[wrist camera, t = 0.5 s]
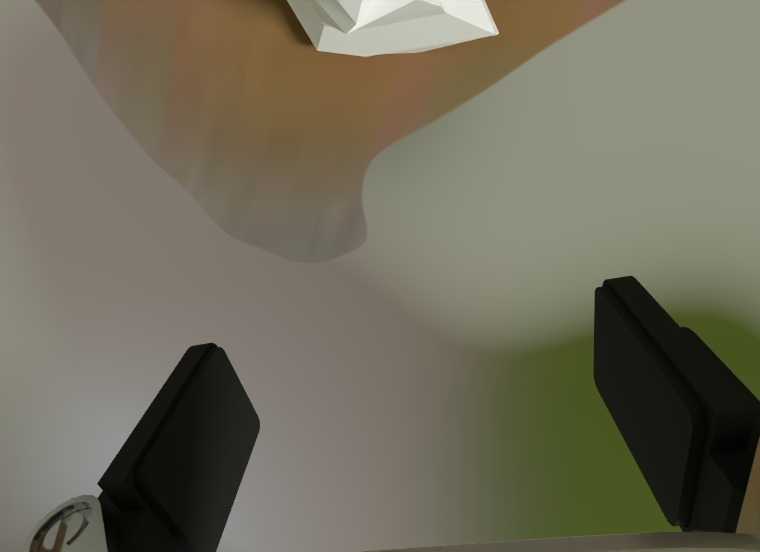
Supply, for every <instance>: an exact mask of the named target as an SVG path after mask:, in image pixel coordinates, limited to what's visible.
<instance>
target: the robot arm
mask: <svg viewBox="0 0 760 552" xmlns="http://www.w3.org/2000/svg"><path fill="white" fill-rule="evenodd" d="M594 380H595V384H596V387H597V389H598V391H599V393H600V395H601V397H602V399H603V401H604V402H605V404H606V406H607V408H608V410H609V412H610V414H611V416H612V417H613V420H614V421H615V423H616V425H617V427H618V429H619V431H620V433H621V434H622V436H623V438H624V440H625V442H626V444H627V446H628V448H629V450H630V451H631V453H632V455H633V457H634V459H635V461H636V463H637V464H638V467H639V468H640V470H641V472H642V474H643V476H644V478H645V480H646V481H647V483H648V485H649V487H650V489H651V491H652V493H653V495H654V496H655V498H656V500H657V502H658V504H659V506H660V508H661V510H662V512H663V513H664V515H665V517H666V519H667V521H668V522H669V523H670V524H671V525H672V526H680V527H681V529H682V531H683V532H654V533H634V534H616V535H598V536H597V535H596V536H577V537H561V538H548V539H547V538H546V539H532V540H518V541H504V542H489V543H475V544H461V545H446V546H434V547H433V546H432V547H419V548H405V549H392V550H379V551H365V552H760V401H759V400H758V399H757V398H756V397H755V396H754V395H753V394H752V393H751V392H750V390H749V389H748V388H747V387H746V386H745V385H744V384H743V383H742V382H741V381H740V380H739V379H738V378H737V377H736V376H735V375H734V374H733V373H732V372H731V370H730V369H729V368H728V367H727V366H726V365H725V364H724V363H723V362H722V361H721V360H720V359H719V358H718V357H717V356H716V355H715V354H714V352H712V350H711V349H710V348H709V347H708V346H707V345H706V344H705V343H704V342H703V341H702V340H701V339H700V338H699V337H698V336H697V335H696V333H694V332H693V331H692V330H690V329H689V328H687V327H679V325H678V324H676V322H675V321H674V320H673V319H672V318H671V317H670V316H669V314H668V313H667V312H666V311H665V310H664V309H663V308H662V307H661V306H660V305H659V304H658V302H657V301H656V300H655V299H654V298H653V297H652V296H651V295H650V294H649V293H648V292H647V290H645V288H644V287H643V286H642V285H641V284H640V283H639V282H638V281H637V280H636V279H635V278H634V277H633V276H626V277H620V278H613V279H607V280H605V281H604V282H603V285H602V287H597V288H596V290H595V316H594ZM259 429H260V421H259V418H258V415H257V414H256V411H255V410H254V408H253V406H252V404H251V402H250V400H249V398H248V396H247V394H246V392H245V390H244V388H243V386H242V384H241V382H240V380H239V378H238V376H237V374H236V372H235V370H234V368H233V367H232V365H231V363H230V361H229V359H228V357H227V355H226V353H225V351H224V350H223V349H222V348H221V347H217V345H215V344H214V343H207V344H201V345H195V346H191V347H190V348H189V349H188V350H187V351H186V353H185V354H184V356H183V357H182V359H181V360H180V362H179V363H178V365H177V366H176V367H175V369H174V371H173V372H172V373H171V375H170V376H169V378H168V379H167V381H166V382H165V384H164V385H163V387H162V388H161V390H160V391H159V393H158V394H157V396H156V397H155V399H154V400H153V402H152V403H151V405H150V406H149V408H148V409H147V411H146V412H145V414H144V415H143V417H142V418H141V420H140V421H139V423H138V424H137V426H136V427H135V429H134V430H133V431H132V433H131V434H130V436H129V437H128V439H127V441H126V442H125V443H124V445H123V446H122V448H121V449H120V451H119V453H118V454H117V455H116V457H115V458H114V460H113V461H112V463H111V464H110V466H109V467H108V469H107V470H106V472H105V473H104V475H103V476H102V478H101V479H100V481H99V482H98V485H99V486H100V488H101V489H102V490H103V491H102V493H101V494H100V496H99V497H98V498H97V497H95V496H93V495H82V496H78V497H76V498H72V499H70V500H68V501H66V502H64V503H63V504H61V505H59V506H58V507H56V508H55V509H54V510H52V511H51V512H50V513H48V514H47V515H46V516H45V517H44V518H43V519H42V520H41V521H40V522H39V523H38V524H37V525H36V526H35V528H34V529H33V530H32V531H31V533H30V534H29V536H28V537H27V539H26V541H25V542H24V545H23V547H22V551H21V552H216V550H217V547H218V544H219V542H220V539H221V536H222V533H223V530H224V528H225V525H226V522H227V519H228V517H229V514H230V511H231V508H232V505H233V503H234V500H235V497H236V494H237V491H238V489H239V486H240V483H241V480H242V478H243V475H244V472H245V469H246V467H247V464H248V461H249V458H250V455H251V453H252V450H253V447H254V444H255V442H256V438H257V436H258V433H259Z"/></svg>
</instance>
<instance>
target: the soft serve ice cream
mask: <svg viewBox="0 0 760 552" xmlns="http://www.w3.org/2000/svg"><path fill="white" fill-rule="evenodd" d="M287 1H288V3H289V5H290V6H291V8H292V10H293V11H294V13H295V15H296V16H297V18H298V20H299V21H300V23H301V25H302V26H303V28H304V30H305V31H306V33H307V35H308V36H309V38H310V40H311V41H312V43H313V45H314V46H315V48H316V50H317V51H324V52H332V53H340V54H348V55H357V56H365V57H367V56H373V55H379V54H395V53H416V52H424V51H428V50H432V49H436V48H440V47H445V46H449V45H453V44H457V43H461V42H466V41H470V40H474V39H478V38H482V37H487V36H493V35H497V34H499V32H498V30H497V28H496V25H495V23H494V21H493V19H492V16H491V14H490V12H489V9H488V7H487V5H486V3H485V0H287Z"/></svg>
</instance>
